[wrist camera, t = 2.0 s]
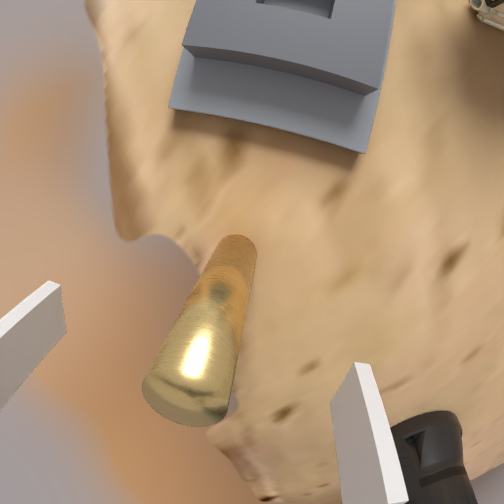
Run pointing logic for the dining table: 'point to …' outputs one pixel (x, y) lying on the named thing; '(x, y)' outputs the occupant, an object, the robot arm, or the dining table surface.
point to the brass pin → (204, 340)
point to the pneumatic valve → (490, 12)
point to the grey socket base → (287, 65)
